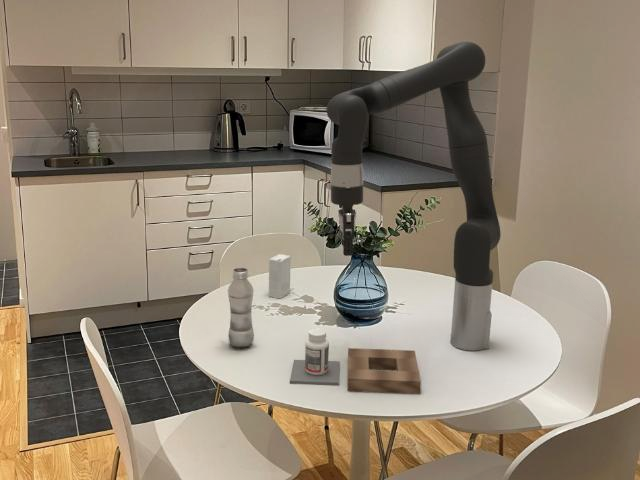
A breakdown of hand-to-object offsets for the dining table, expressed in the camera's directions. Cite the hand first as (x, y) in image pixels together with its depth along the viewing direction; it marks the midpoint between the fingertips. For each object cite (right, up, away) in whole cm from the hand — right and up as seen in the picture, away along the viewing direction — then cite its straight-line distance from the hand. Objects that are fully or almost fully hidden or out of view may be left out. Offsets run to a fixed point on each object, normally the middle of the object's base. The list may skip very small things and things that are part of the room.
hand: (347, 250), depth 168 cm
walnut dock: (+8, -29, -3) cm, 30 cm away
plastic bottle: (-26, -24, +12) cm, 38 cm away
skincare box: (-19, -14, +47) cm, 53 cm away
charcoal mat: (-7, -29, -3) cm, 30 cm away
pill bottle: (-7, -28, -3) cm, 29 cm away
